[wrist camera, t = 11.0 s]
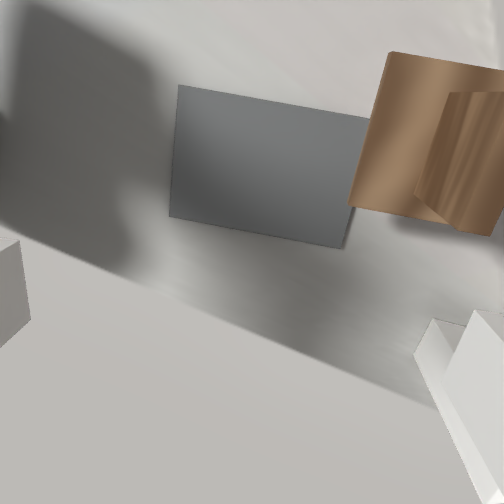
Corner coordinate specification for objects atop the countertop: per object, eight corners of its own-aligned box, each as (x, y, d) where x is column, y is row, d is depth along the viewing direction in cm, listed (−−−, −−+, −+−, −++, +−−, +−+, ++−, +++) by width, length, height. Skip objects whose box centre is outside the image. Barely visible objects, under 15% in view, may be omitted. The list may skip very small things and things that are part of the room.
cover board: (346, 202, 33) (368, 244, 23) (388, 52, 28) (436, 32, 19) (479, 226, 32) (554, 279, 23) (545, 80, 28) (674, 73, 18)
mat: (170, 214, 42) (169, 216, 42) (180, 84, 37) (178, 84, 36) (339, 246, 42) (340, 249, 41) (376, 119, 36) (377, 120, 36)
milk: (431, 317, 44) (548, 500, 24) (480, 329, 44) (636, 522, 24) (411, 355, 47) (502, 550, 27) (457, 367, 47) (582, 571, 27)
